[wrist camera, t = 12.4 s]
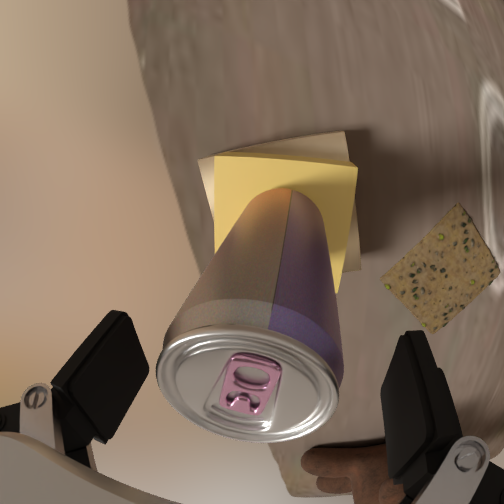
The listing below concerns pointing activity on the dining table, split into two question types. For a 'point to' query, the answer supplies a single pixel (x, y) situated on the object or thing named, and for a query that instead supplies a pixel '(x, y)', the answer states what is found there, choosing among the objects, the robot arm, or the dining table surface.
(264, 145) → the tower base
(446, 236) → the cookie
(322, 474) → the stuffed bear
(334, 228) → the tower top
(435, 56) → the dining table surface
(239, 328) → the beverage can
